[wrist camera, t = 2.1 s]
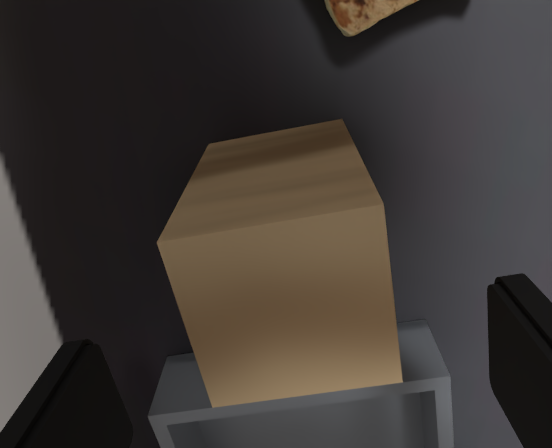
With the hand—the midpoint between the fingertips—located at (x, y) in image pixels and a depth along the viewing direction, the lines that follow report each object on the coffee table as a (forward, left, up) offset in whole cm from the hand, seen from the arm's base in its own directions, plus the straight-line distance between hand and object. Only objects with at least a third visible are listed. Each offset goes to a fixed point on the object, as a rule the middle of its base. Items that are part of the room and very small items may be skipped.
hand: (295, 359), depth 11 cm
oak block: (-1, 0, -8) cm, 8 cm away
